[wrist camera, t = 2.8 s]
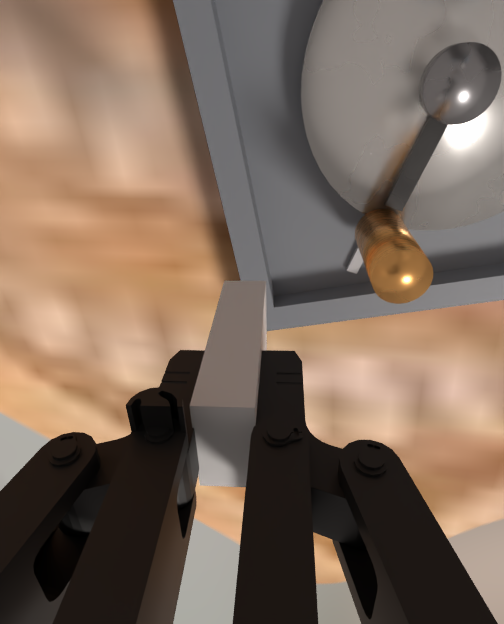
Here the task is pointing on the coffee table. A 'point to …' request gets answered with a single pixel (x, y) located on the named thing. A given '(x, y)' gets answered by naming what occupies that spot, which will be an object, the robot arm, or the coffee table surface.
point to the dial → (407, 123)
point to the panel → (302, 177)
